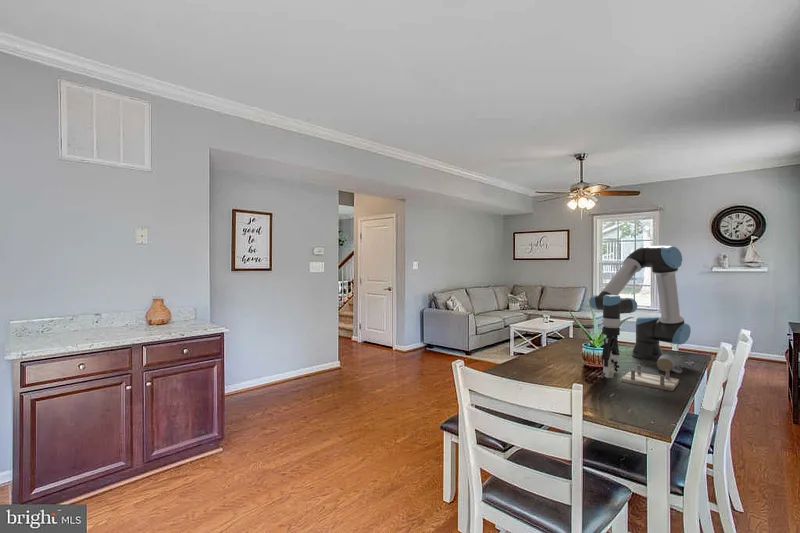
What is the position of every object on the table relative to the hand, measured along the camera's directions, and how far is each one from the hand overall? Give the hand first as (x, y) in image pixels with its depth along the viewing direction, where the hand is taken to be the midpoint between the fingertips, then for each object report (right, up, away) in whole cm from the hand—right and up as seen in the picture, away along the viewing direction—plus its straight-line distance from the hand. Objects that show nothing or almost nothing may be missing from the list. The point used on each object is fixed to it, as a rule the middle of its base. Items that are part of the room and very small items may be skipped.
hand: (610, 370), depth 202 cm
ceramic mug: (+33, -2, +7) cm, 34 cm away
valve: (0, -2, 0) cm, 2 cm away
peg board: (+13, -2, -11) cm, 17 cm away
